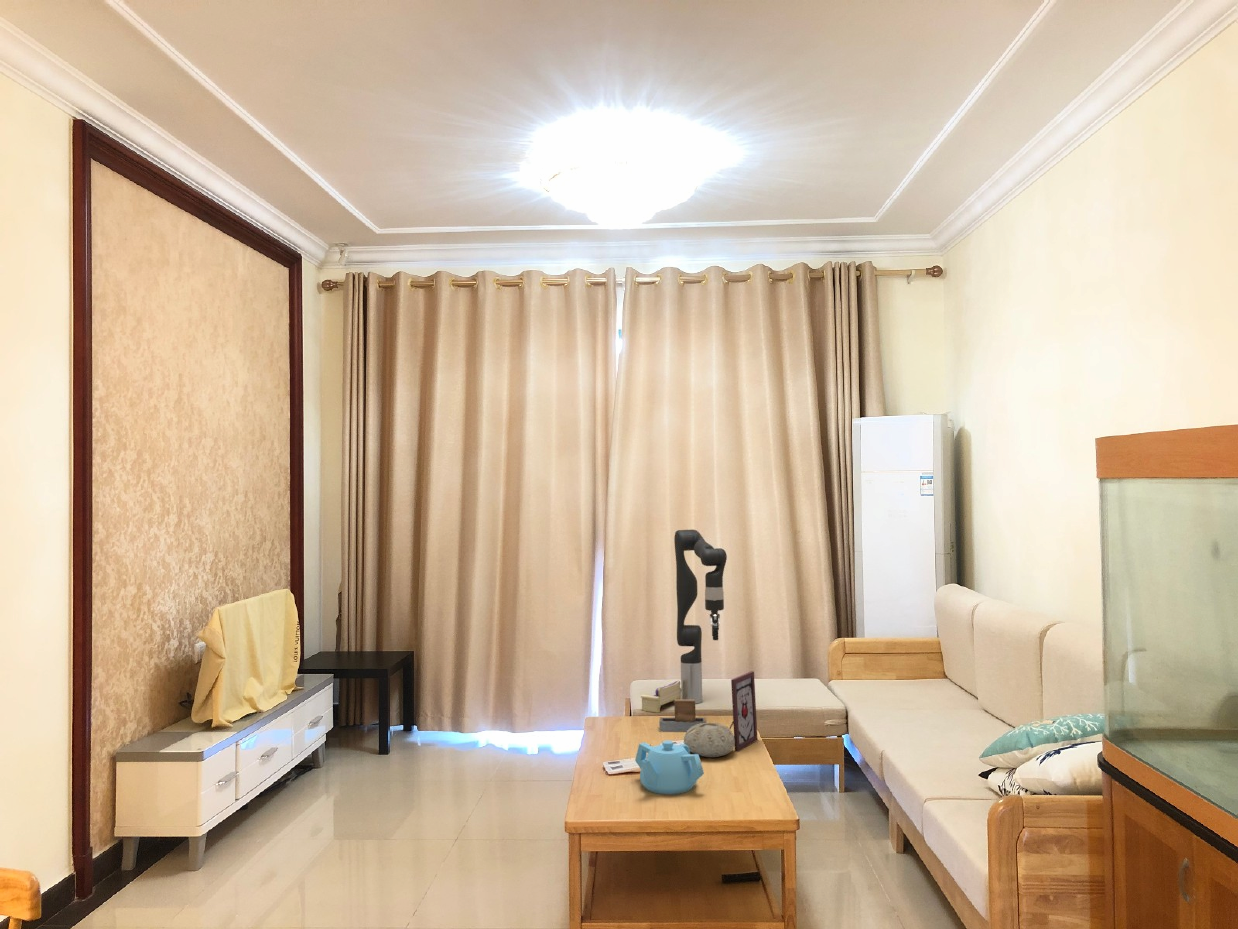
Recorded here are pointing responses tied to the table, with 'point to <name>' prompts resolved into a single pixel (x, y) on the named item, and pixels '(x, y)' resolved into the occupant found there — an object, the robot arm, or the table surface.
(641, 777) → the teapot
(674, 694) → the toy sofa
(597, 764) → the table surface
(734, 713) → the picture frame
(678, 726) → the tray
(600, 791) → the table surface
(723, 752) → the decorative shell
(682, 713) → the door panel
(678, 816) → the table surface
